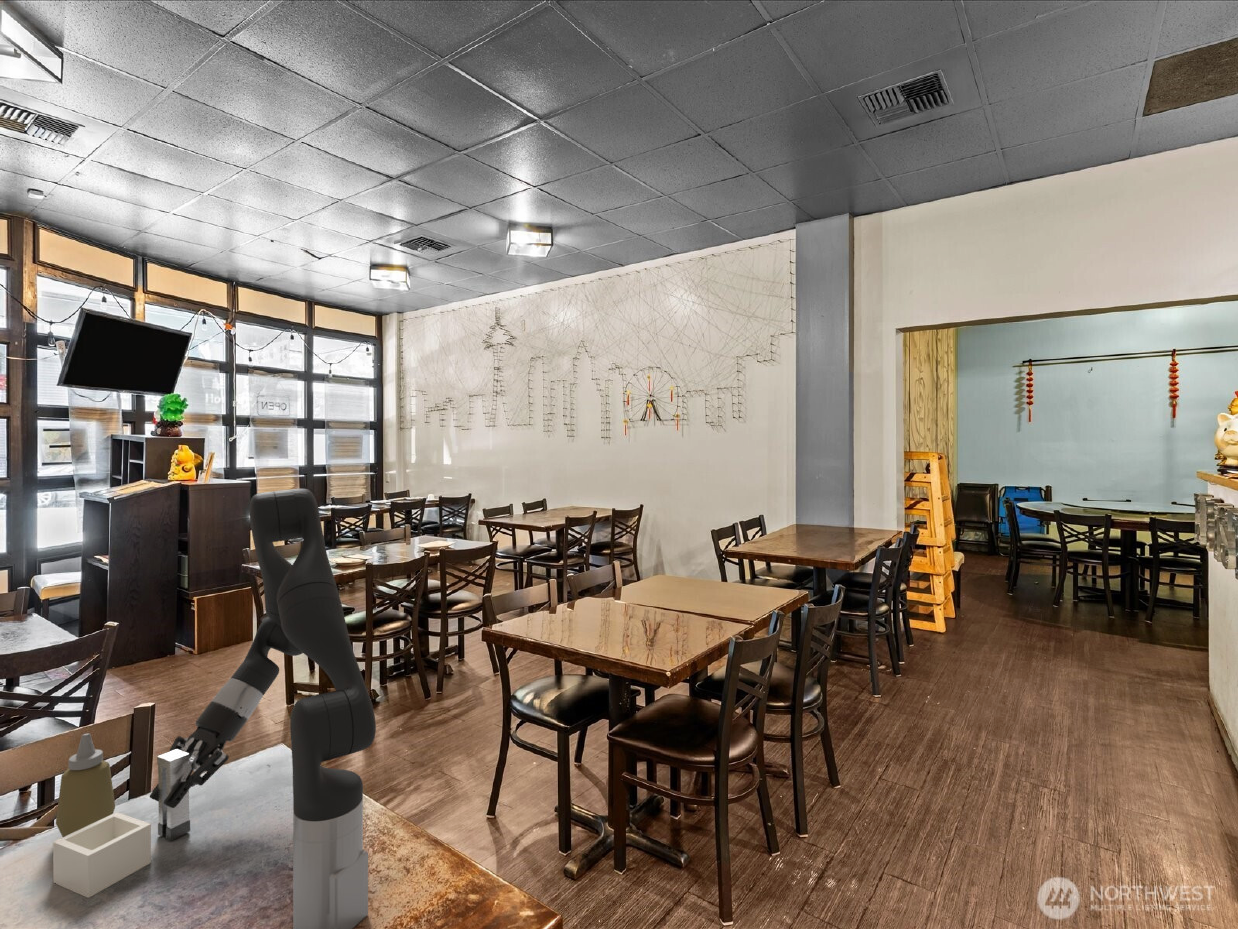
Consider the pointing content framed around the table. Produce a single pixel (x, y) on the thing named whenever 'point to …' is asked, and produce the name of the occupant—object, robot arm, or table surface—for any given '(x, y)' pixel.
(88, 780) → the squeeze bottle
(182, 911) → the table surface
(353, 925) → the robot arm
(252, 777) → the table surface
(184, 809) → the grey arch block
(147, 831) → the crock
